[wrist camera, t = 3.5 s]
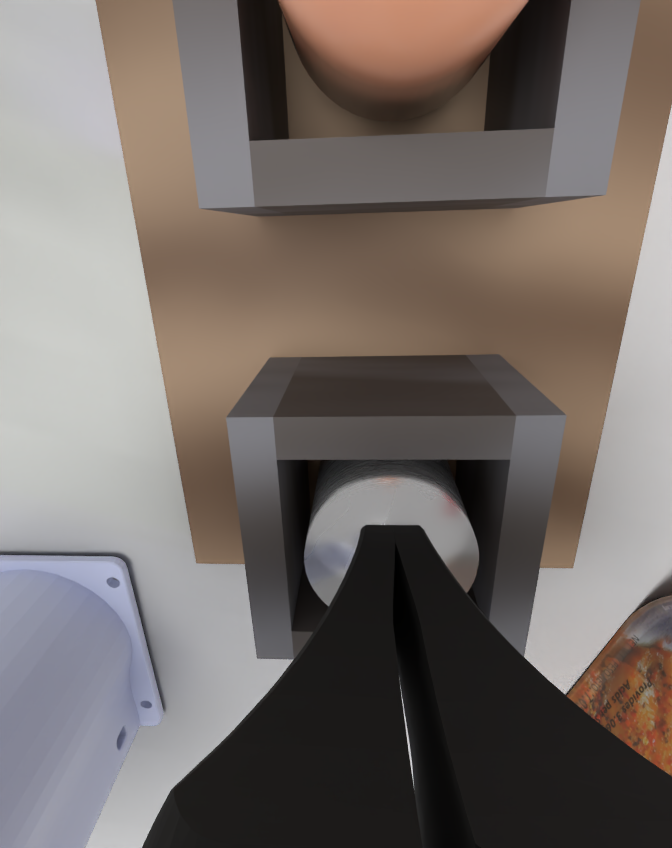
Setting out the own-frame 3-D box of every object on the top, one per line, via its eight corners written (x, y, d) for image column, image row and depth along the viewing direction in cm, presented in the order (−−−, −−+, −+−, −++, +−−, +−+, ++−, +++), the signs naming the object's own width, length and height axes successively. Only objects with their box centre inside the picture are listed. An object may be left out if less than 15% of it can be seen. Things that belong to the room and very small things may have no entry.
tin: (686, 543, 17) (960, 808, 9) (760, 569, 17) (1085, 846, 9) (495, 777, 23) (564, 1060, 15) (553, 793, 23) (650, 1081, 15)
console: (566, 557, 17) (652, 695, 12) (201, 553, 18) (137, 681, 13) (723, -217, 10) (1139, -733, 4) (78, -164, 10) (-198, -548, 5)
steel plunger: (439, 513, 16) (471, 629, 11) (323, 513, 16) (308, 626, 11) (447, 404, 14) (487, 487, 10) (318, 405, 15) (299, 486, 10)
